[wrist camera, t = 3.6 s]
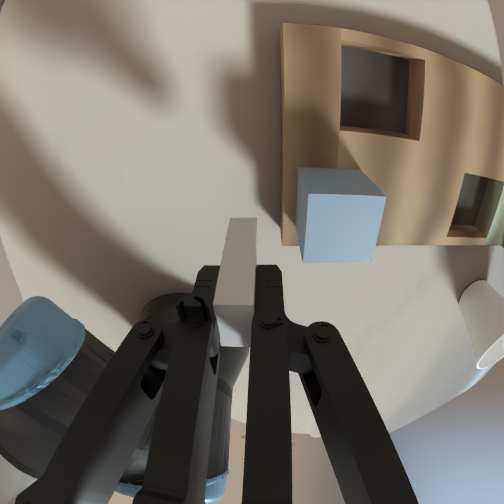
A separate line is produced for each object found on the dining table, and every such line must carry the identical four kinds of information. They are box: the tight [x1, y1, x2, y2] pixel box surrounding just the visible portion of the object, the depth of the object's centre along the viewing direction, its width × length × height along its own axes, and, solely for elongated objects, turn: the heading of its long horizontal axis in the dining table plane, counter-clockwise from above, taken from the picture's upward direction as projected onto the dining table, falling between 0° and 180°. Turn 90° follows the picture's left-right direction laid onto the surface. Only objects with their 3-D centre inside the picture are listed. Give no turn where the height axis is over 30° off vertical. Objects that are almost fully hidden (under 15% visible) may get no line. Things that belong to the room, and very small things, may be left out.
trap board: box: [280, 23, 504, 248], centre depth 18 cm, size 29×18×4 cm, turn 92°
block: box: [295, 167, 386, 263], centre depth 19 cm, size 5×5×5 cm
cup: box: [459, 280, 504, 369], centre depth 27 cm, size 10×10×11 cm
